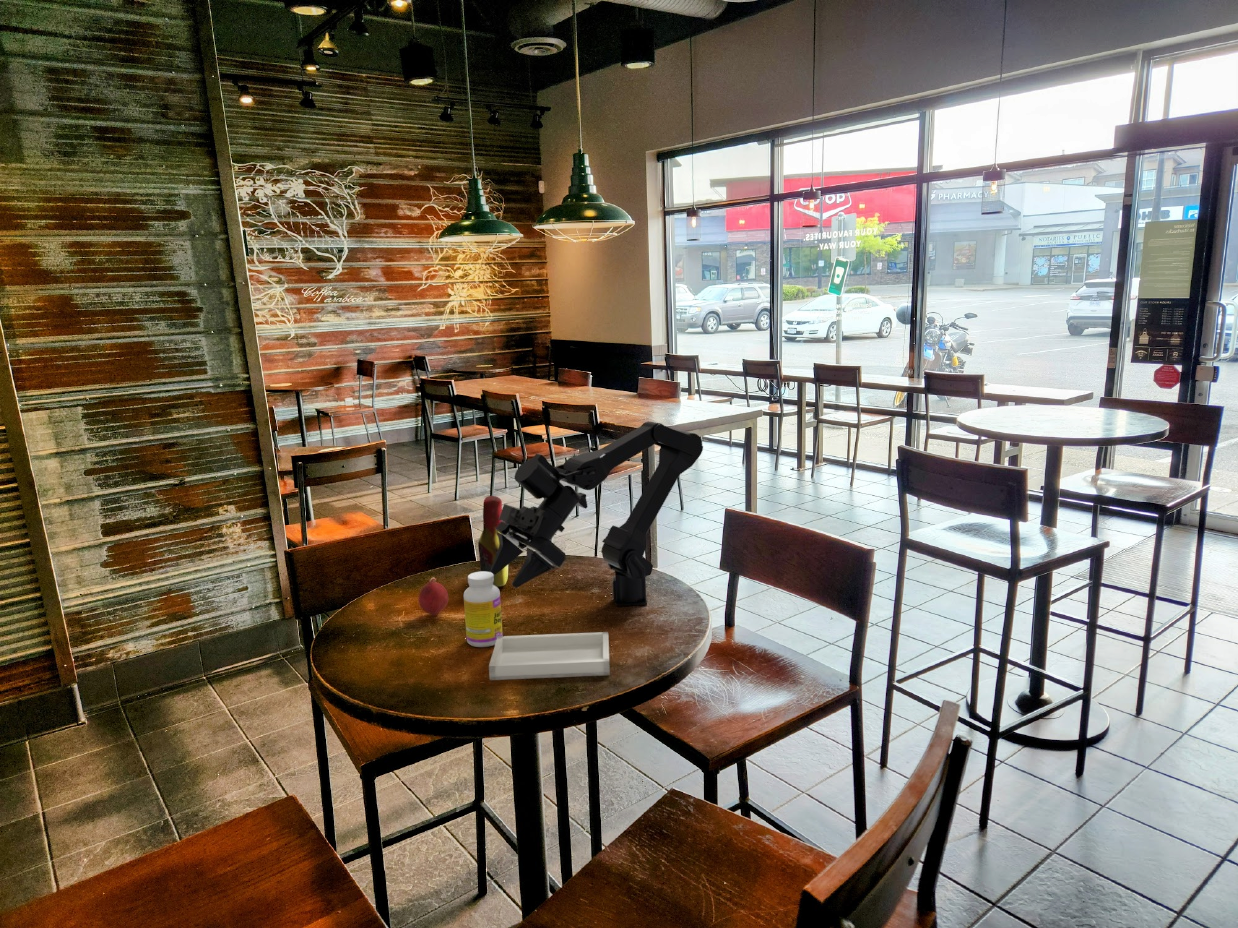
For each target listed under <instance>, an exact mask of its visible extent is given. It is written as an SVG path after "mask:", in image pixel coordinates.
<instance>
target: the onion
mask: <svg viewBox="0 0 1238 928" xmlns="http://www.w3.org/2000/svg"><path fill="white" fill-rule="evenodd" d="M448 602H449V592H448V591H447V588H445V586H443V585H442V584H441V583H439V582H437V579H436V578H435V577H431V578H430V579H429V581H428V582H427V583H426V584H425V585H423V587H422V588H421V590H420V592H419V595H418V605H419V606H420V608H421V609H422V611H424V612H425V613H427V614H428V615H432V617H433V616H434V617H436V616H438V615H439V614H440V613H441V612H442V611H443V610H444V609H445V608H446V607H447V605H448Z"/></svg>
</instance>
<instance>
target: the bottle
mask: <svg viewBox="0 0 1238 928" xmlns="http://www.w3.org/2000/svg"><path fill="white" fill-rule="evenodd" d="M482 507H483V508H482V519H483V520H482V522H483V523H482V524H483V526H482V527H483V529H482V532H481V534H480V537H479V540H478V542H477V544H478V546H477V547H478V555H479V562H480V563H479V565H480V572H481V571H486V572H491V568H492V565H493V563H494V560H495V557H496V554H497V551H498V548H499V538H498V536H497V532H498V531H497V530H496V527H497V526H498V525H499V523H500V522H501V521H502V520H501V521H500V520H499V517H500V514H501V511H502V509H503V501H502V499H501V498H500V497H498V496H496V495H489V496H488V495H487V497H485V498H484V500H483V506H482ZM498 533H500V532H498ZM500 534H501V533H500ZM493 575H494V574H493ZM508 576H509V564H508V565H507V566H506V567H504V568H503V569H502V570H501V571H499V572H498V573H497V574H495V575H494V581H493V585H494V586H496V587H497V588H499V587H504V586H505V585H506V584H507V581H508V578H509V577H508Z"/></svg>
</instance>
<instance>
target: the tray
mask: <svg viewBox="0 0 1238 928" xmlns="http://www.w3.org/2000/svg"><path fill="white" fill-rule="evenodd" d="M609 640H610V639H609V632H608V631H603V632H602V631H600V632H598V631H597V632H575V633H574V632H573V633H550V634H547V633H546V634H530V635H527V634H525V635H522V634H521V635H504V636H498V637H497V640H496V644H495V645H494V649H493V651H492V654H491V658H490V660H489V664H488V673H489V681H501V680H505V681H506V680H522V679H523V680H527V679H545V678H546V679H548V678H550V679H551V678H552V679H553V678H572V677H573V678H574V677H575V678H576V677H597V676H599V677H601V676H610V674H611V672H610V644H609V642H610V641H609Z"/></svg>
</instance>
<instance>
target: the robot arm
mask: <svg viewBox="0 0 1238 928" xmlns="http://www.w3.org/2000/svg"><path fill="white" fill-rule="evenodd" d="M654 445H655V446H658V447H660V448H659V450H658V451H659V452H658V464H657V467H656V468H655V470H654V471H653V474H652V475H651V477H650V479H649V481H648V482H647V484H646V486H645V488H644V490H643V491H642V492H641V495H640V497H639V498H638V500H637V502H636V503H635V505H634V507H633V509H632V511H631V512H630V514H629V516H628V517H627V519H626V521H625V522H624V523H622V525H620V526H619V527H618V526H616V525H612V526H611V527H610V528H609V530H608V533H607V535H606V536H605V538H604V539H602V541H601V542H602V543H603V544H602V547H601V550H600V551H601V555H602V556H601V557H602V558H603V561H605V562H606V563H607V565H608V567H609V570H612V571H614V576H613V577H612V578H611V579H612V583H611V584H612V600H613V601H615V606H616V607H620V606H622V607H625V606H628V607H629V606H646V605H648V599H647V581H646V577H648V576H651V575H652V571H653V567H654V565H653V564H652V563H651V562H650V561H649V560H648V559H646V558H645V556H644V554H645V552H646V549H647V536H648V535H647V534H648V533H649V530H650V528H651V527H652V526H653V523H654V522H655V519H656V518H657V516H658V514H659V512H660V511H661V508H662V507H663V505H664V503H665V501H666V500H667V498H668V496H669V495H670V493H671V491H672V489H673V488H674V486H675V483H676V482H677V481H678V478H679V476H680V475H682V474H683V473H685V472H686V471H687V470H689V469H690V468H692V467H693V466H694V464H695V463H696V461H698V459H699V457H700V456H701V455H702V453H703V450H704V446H703V441H702V439H701V437H700V436H699V435H698V434H697V433H694V432H688V431H683V430H678V429H674V428H671V427H668V426H666V425H664V424H663V423H661V422H656V421H646V422H644V423H642V424H641V425H640V426H638V427H637V428H635V429H633V430H632V431H630V432H628V433H626V434H625V435H622V436H621V437H620V438H617V439H616V440H614V441H612V442H610V443H609V444H607V445H605V446H603V447H602V448H600V449H597V450H594V451H588V452H584V453H581V454H577V455H573V456H571V457H569V458H567V459H566V460H565V461H564V463H563V464H559V465H557V466H553V465H552V464H551V463H550V462H549V461H548V459H547V458H546V457H545V456H544V455H543V454H541V453H535V455H534V456H533V457H532V458H531V457H530V458H529V459H528V460H526V461H524V463H522V464H520V465H519V466H518V468H517V469H516V471H515V472H514V481H515V482H516V483H518V484H519V485H520V486H521V487H522V488H523V489H525V490H526V492H528V493H529V494H530V495H531V496H532V497H534V498H535V499H536V500H541V499H543V500H542V501H541V503H540V504H539V505H538V507H536V506H531V507H527V506H525V505H523V506H522V507H521V508H518V507H516V506H512V505H510V504H507V503H504V504H503V505H502V511H501V514H500V517H499V520H500V521H501V520H502V521H501V522H500V523H499V525H498V526H497V527H496V530H497V531H498V532H500V533H501V534H500V533H498V532H497V536H498V538H499V548H498V551H497V554H496V557H495V560H494V563H493V565H492V568H491V573H493V574H494V575H495V574H497V573H498V572H499V571H501V570H502V569H503V568H504V567H506V566H507V565H508V566H509V564H511V562H513V561H515V559H517V558H518V557H519V556H520V555H522V554H523V553H524V551H523V549H526V558H525V561H524V563H522V565H521V567H520V569H519V571H518V573H517V574H516V576H515V578H514V579H513V582H512V583H511V586H512V587H514V588H515V589H518V588H519V587H521V586H522V585H524V584H526V583H528V582H530V581H531V580H533V579H535V578H537V577H538V576H540V575H544V574H545V573H547V572H549V571H551V570H552V571H554V570H555V569H556V568H558V569H561V568H562V566H563V565H564V563H565V562H566V560H567V559H566V556H567V555H566V553H565V552H564V551H563V550H562V549H561V548H559V546H557V545H556V544H555V543H554V542H552V539H553V537H554V536H555V535H557V532H560V533H563V531H564V530H565V527H564V526H563V525H564V523H565V521H566V520H567V519H568V517H569V516H570V514H572V512H573V510H574V509H575V508H576V507H579V508H580V507H581V508H583V509H587V508H588V501H587V494H586V493H584V492H577V491H576V490H575V488H573V487H576V488H579V489H582V490H585V491H591V490H594V489H595V488H598V486H599V485H600V484H601V483H603V482H604V481H605V480H606V479H608V477H609V475H610V473H611V472H612V470H614V469H615V468H616V467H618V466H620V465H621V464H623V463H625V462H627V461H628V460H630V459H632V458H634V457H635V456H637V455H639V454H640V453H642V452H644V451H645V450H647V449H650V448H651V447H652V446H654ZM561 481H562V482H564V483H566V484H568V485H564V484H562V482H561ZM572 486H573V487H572ZM554 566H555V567H554Z"/></svg>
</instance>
